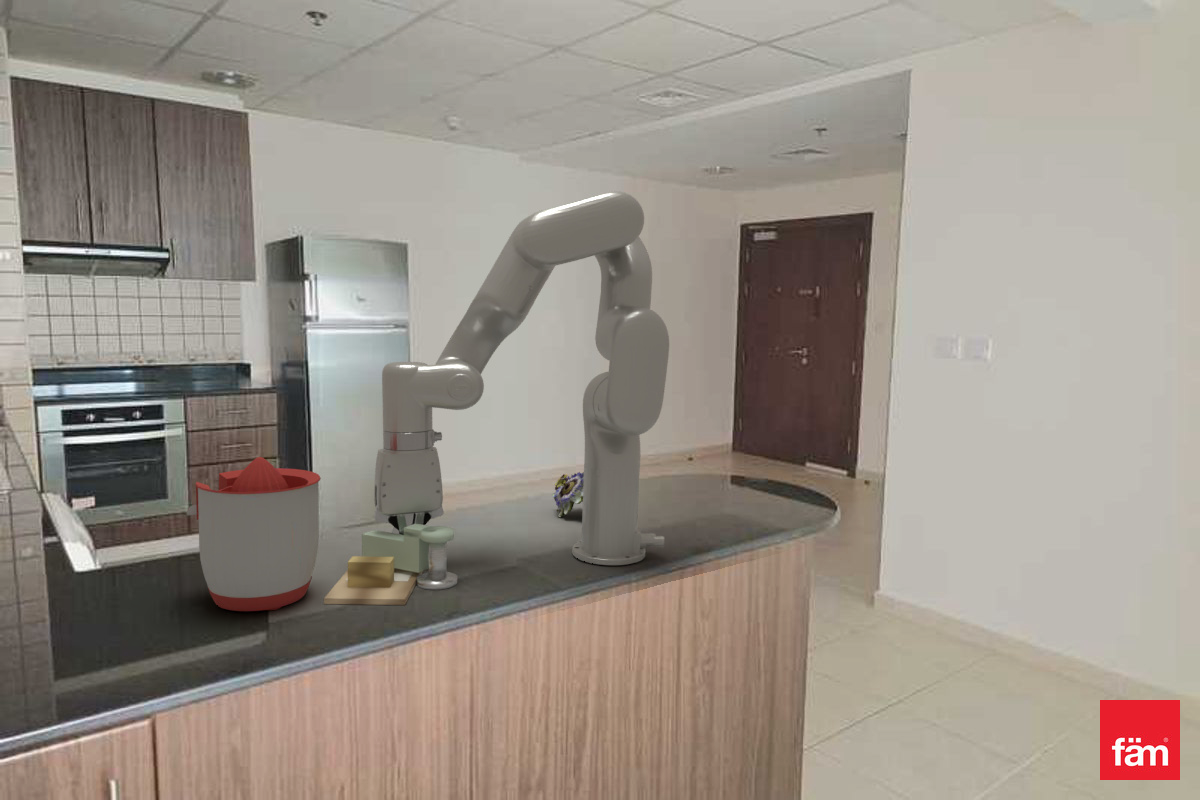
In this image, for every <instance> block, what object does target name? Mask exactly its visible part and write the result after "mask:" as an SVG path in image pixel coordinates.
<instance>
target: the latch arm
mask: <svg viewBox="0 0 1200 800" xmlns="http://www.w3.org/2000/svg"><path fill="white" fill-rule="evenodd" d="M454 539H455V529H454V528H453V527H451V526H447V525H446V526H444V525H433V526H432V525H427V524H425V525H421V524H413V525H410V526H407V527H405V528H404V535H401V534H395V533H392V532H388V531H382V530H376V529H373V530H370V531H367V532H366V531H365V532H364V533H362V534H361V556H371V557H394V568H397V569H402V570H407V571H412V572H417V573H419V572H421V571H423V572H424V571H426V570H428V542H430V543H442V542H447V543H448V542H451V541H454Z"/></svg>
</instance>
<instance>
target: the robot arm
mask: <svg viewBox="0 0 1200 800" xmlns="http://www.w3.org/2000/svg"><path fill="white" fill-rule="evenodd" d="M644 225H645V214H644V209H643V207H642V205H641V204H640V202H639V201H638V200H637V199H636V198H635V197H634V196H632V195H631V194H629V193H626V192H623V191H615V190H614V191H609V192H605V193H602V194H599V195H596V196H591V197H588V198H585V199H580V200H578V201H574V202H571V203H567V204H563V205H559V206H555V207H551V208H547V209H543V210H539V211H537V212H534V213H532V214H530V215H529V216H527V217H525V218H524V219H522V220H521V221H520V222H519V223H518V224H517V225H516V226H515V227H514V229H513V231H512V232H511V234H510V236H509V237H508V239H507V241H506V243H505V244H504V246H503V248H502V249H501V252H500V253H499V255H498V257H497V258H496V260H495V262H494V263H493V266H492V268H491V270H490V271H489V273H488V274H487V275H486V277H485V279H484V281H483V283H482V285H481V286H480V288H479V289H478V291H477V292H476V295H475V296H474V298H473V300H472V301H471V302H470V305H469V307H468V309H467V310H466V312H465V314H464V315H463V316H462V319H461V320H460V322H459V324H458V325H457V326H456V329H455V330H454V332H453V333H452V335H451V337H450V338H449V340H448V342H447V343H446V345H445V347H444V348H443V349H442V352H441V354H440V356H439V357H438V359H437V360H436V362H435V364H427V363H425V362H420V361H419V362H418V361H394V362H390V363H387V364H385V365H384V367H382V368H383V369H382V372H381V373H382V374H381V382H382V383H381V385H382V387H381V388H382V391H381V393H382V397H381V398H382V439H383V440H382V444H383V445H382V446H383V447H382V448H381V449H378V450H377V456H376V459H375V460H376V461H375V469H374V487H373V488H374V489H373V490H374V491H373V497H374V499H373V500H374V506H375V511H374V514H373V518H374V521H375V522H377V523H382V524H390V525H392V527H393V528H394V527H395V528H396V529H397V530H398V531H399V534H401V535H404V528H405V527H407V525H406V519H405V514H411V513H413V517H412V524H411V525H413V524H421V525H427V523H429V522H430V520H432V519H436V518H438V517H441V516H444V513H445V512H444V508H443V500H444V499H443V498H444V495H443V482H442V471H441V464H440V463H441V462H440V459H439V458H440V457H439V452H438V448H437V447H435V443H436V442H438V441H442V440H443V433H442V432H441V431H439V432H437V431H435V430H434V428H433V408H434V409H444V410H454V411H461V410H467V409H469V408H472V407H474V406H475V405H476V404H477V403H478V402H479V401H480V400H481V398H482V396H483V393H484V390H485V389H484V388H485V384H484V379H483V377H482V373H483V371H484V369H485V368H486V366H487V364H488V363H489V361H490V359H491V358H492V356H493V355H494V353H495V352H496V351H497V349H498V347H499V346H500V345H502V343H503V342H504V340H506V339H507V337H509V336H510V335H511V334H512V333H513V332H515V331H516V330H517V329H518V328H519V327H520V326H521V324H522V323H523V322H524V321H525V319H526V318H527V316H528V315H529V313H530V311H531V309H532V307H533V306H534V304H535V301H536V299H537V298H538V296H539V295H540V293H541V291H542V289H543V287H544V285H545V284H546V283H547V281H548V279H549V278H550V276H551V273H552V272H553V270H554V269H555V268H556V266H560V265H564V264H568V263H572V262H577V261H579V260H583V259H587V258H591V257H593V256H594V257H595V259H596V260H597V262H598V265H599V268H600V270H599V271H600V276H601V277H600V280H601V281H600V296H599V305H598V313H597V321H596V322H597V323H596V328H595V329H596V330H595V337H594V339H595V346H596V348H597V351H598V352H599V354H600V355H601V356H602V357H603V359H605V360H607V361H609V365H608V371H605V372H602V373H600V374H597V375H596V376H594V377H593V378H592V379H590V382H589V383H588V384H587V386H586V388H585V391H584V393H583V398H582V418H583V419H582V420H583V428H584V429H583V430H584V461H583V462H584V465H583V472H584V484H583V502H582V515H581V517H582V519H581V523H582V525H581V540H580V541H578V542H575V544H573V545H572V550H571V551H572V555H573V556H574V557H575V558H576V559H577V558H578V559H577V560H579V561H582V562H584V561H585V563H588V564H592V563H593V565H599V566H600V565H601V566H626V565H630V564H631V565H632V564H636V563H639V562H641V561H642V560H643V559H644V558H645V557H646V549H647V547H653V548H665V535H656V533H650V532H649V533H648V532H647V533H643V532H642V531H641V530H640V528H639V527H638V526H639V525H638V522H639V521H638V516H639V514H638V513H639V495H640V494H639V492H640V491H639V490H640V469H641V438H640V435H642V434H645V433H647V432H648V431H650V430H651V429H652V428H653V427H654V425H655V424H656V423H657V422H658V419H659V418H660V415H661V412H662V408H663V403H664V398H665V388H666V381H667V372H668V363H669V353H670V335H669V332H668V331H669V330H668V328H667V325H666V323H665V321H664V320H663V318H662V317H661V316H660V315H659V313H657V312H655V310H652V309H651V306H652V305H651V304H652V289H653V288H652V287H653V286H652V285H653V267H652V262H651V261H652V260H651V258H650V254H649V252H648V250H647V248H646V246H645V244H644V243H643V241H642V239H641V238H640V235H641V233H642V232H643V228H644Z"/></svg>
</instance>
